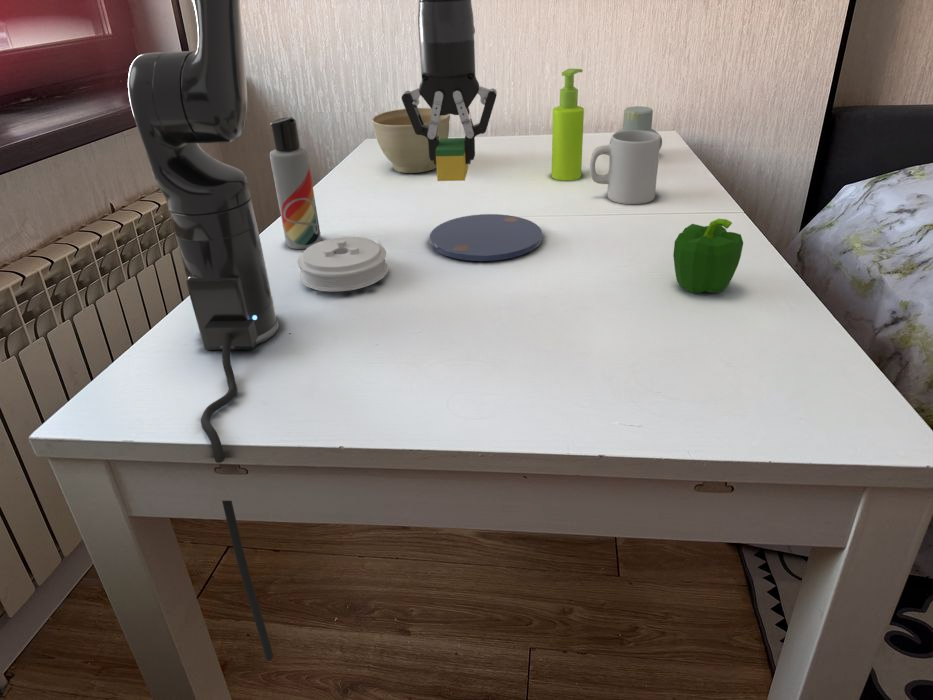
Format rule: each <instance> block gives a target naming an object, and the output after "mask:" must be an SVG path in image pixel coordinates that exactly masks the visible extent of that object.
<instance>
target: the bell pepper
mask: <svg viewBox="0 0 933 700" xmlns="http://www.w3.org/2000/svg"><path fill="white" fill-rule="evenodd" d="M732 224H733V222H732V221H731V220H729V219H726V218H716V219H714V220H712V221H710V223H709V224H708V225H705V226H703V225H699V224H695V223H691V224H689V225H688V226H686V227H685V228H684V229H683V230H682V232H680V233H678V235H677V237H676V238H675V240H674V245H673V253H672V255H673V265H674V273H675V278H676V281H677V283H678V285H679V286H680V287H681V288H682V289H683V290H684V291H687V292H690V293H693V294H696V293H697V294H699V293H704V292H706V293H715V294H718V293H720V292H723V291H724V290H725V289H726V288H727V287H728V286H729V284H730V283H731V282H732V279H733V277H734V275H735V274H736V273H735V272H736V271H737V268H738V266H739V263H740V260H741V257H742V253H743V247H744V240H743V237H742V234H740V233H737V232H732V231H727V229H729V228H730V227H731V225H732Z"/></svg>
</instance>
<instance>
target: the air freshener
mask: <svg viewBox="0 0 933 700" xmlns="http://www.w3.org/2000/svg"><path fill="white" fill-rule="evenodd" d="M653 113H654V110H653V108H652V107H649V106H643V105H642V106H639V105H638V106H637V105H636V106H635V105H634V106H629V107H625V109H623V119H622V128H620V129H618V130H617V131H615V133H617V132H622V131H632V130H639V131H649V132H654V133H657V134H658V135H660V133H659V132H658V131H657V130H655V129H653V128H652V126H653V117H654V116H653V115H654V114H653ZM610 144H611V139H610V140H609V145H610ZM662 146H663V138H662V136H661V135H660V148H659V151H660V150H661V149H662Z"/></svg>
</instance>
